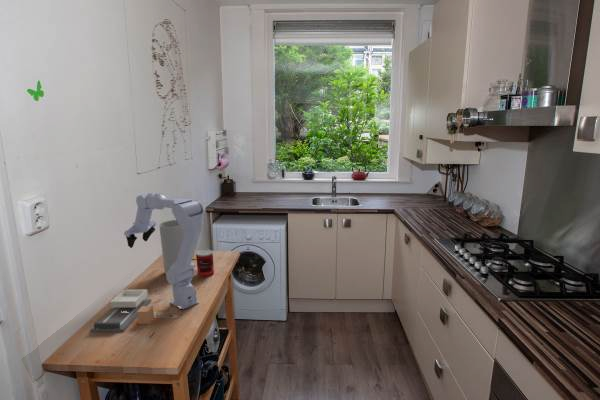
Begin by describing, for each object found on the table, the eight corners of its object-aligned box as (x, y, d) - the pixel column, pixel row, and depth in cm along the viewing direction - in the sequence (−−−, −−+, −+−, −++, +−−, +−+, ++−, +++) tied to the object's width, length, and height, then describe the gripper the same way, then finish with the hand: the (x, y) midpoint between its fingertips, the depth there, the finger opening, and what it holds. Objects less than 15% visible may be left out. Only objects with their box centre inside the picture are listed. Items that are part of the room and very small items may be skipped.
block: (143, 318, 139) (142, 306, 138) (154, 318, 138) (152, 306, 137) (138, 324, 135) (137, 311, 134) (149, 324, 135) (147, 311, 134)
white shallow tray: (124, 298, 152) (123, 289, 151) (148, 297, 151) (147, 289, 150) (111, 310, 142) (110, 301, 141) (136, 310, 141) (135, 301, 141)
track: (122, 301, 152) (121, 294, 151) (151, 301, 152) (150, 294, 151) (90, 331, 131) (89, 324, 130) (123, 331, 130) (122, 323, 129)
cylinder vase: (160, 278, 174) (154, 227, 169) (170, 267, 186) (165, 220, 181) (186, 277, 174) (181, 226, 168) (195, 267, 186) (190, 219, 180)
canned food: (207, 269, 183) (205, 248, 181) (217, 273, 178) (216, 251, 176) (194, 274, 177) (192, 252, 175) (204, 278, 172) (202, 256, 170)
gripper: (150, 208, 161) (144, 232, 167) (121, 218, 149) (116, 244, 155) (161, 217, 159) (155, 241, 166) (133, 228, 147) (128, 253, 153)
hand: (137, 243), depth 160 cm, fingers open, 7 cm apart
